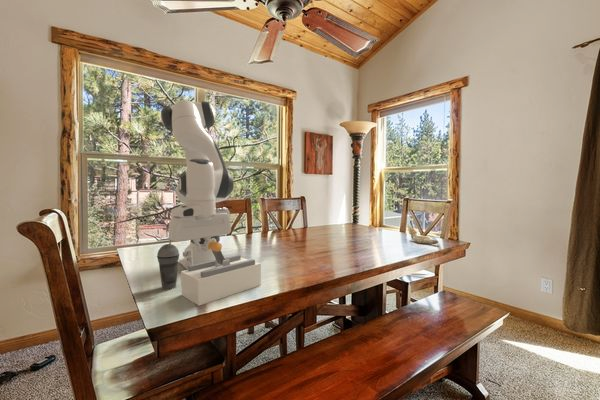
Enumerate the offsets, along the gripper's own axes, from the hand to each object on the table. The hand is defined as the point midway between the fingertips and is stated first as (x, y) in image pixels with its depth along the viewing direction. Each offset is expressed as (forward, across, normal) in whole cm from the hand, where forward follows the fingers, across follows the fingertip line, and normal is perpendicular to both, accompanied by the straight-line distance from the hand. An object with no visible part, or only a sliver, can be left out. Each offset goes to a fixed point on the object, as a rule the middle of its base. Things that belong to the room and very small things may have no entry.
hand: (202, 251), depth 93 cm
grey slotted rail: (+7, -7, 0) cm, 10 cm away
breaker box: (+15, -7, 0) cm, 17 cm away
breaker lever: (+6, -7, 0) cm, 9 cm away
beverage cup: (+15, +5, -16) cm, 23 cm away
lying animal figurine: (+15, -134, +21) cm, 137 cm away
